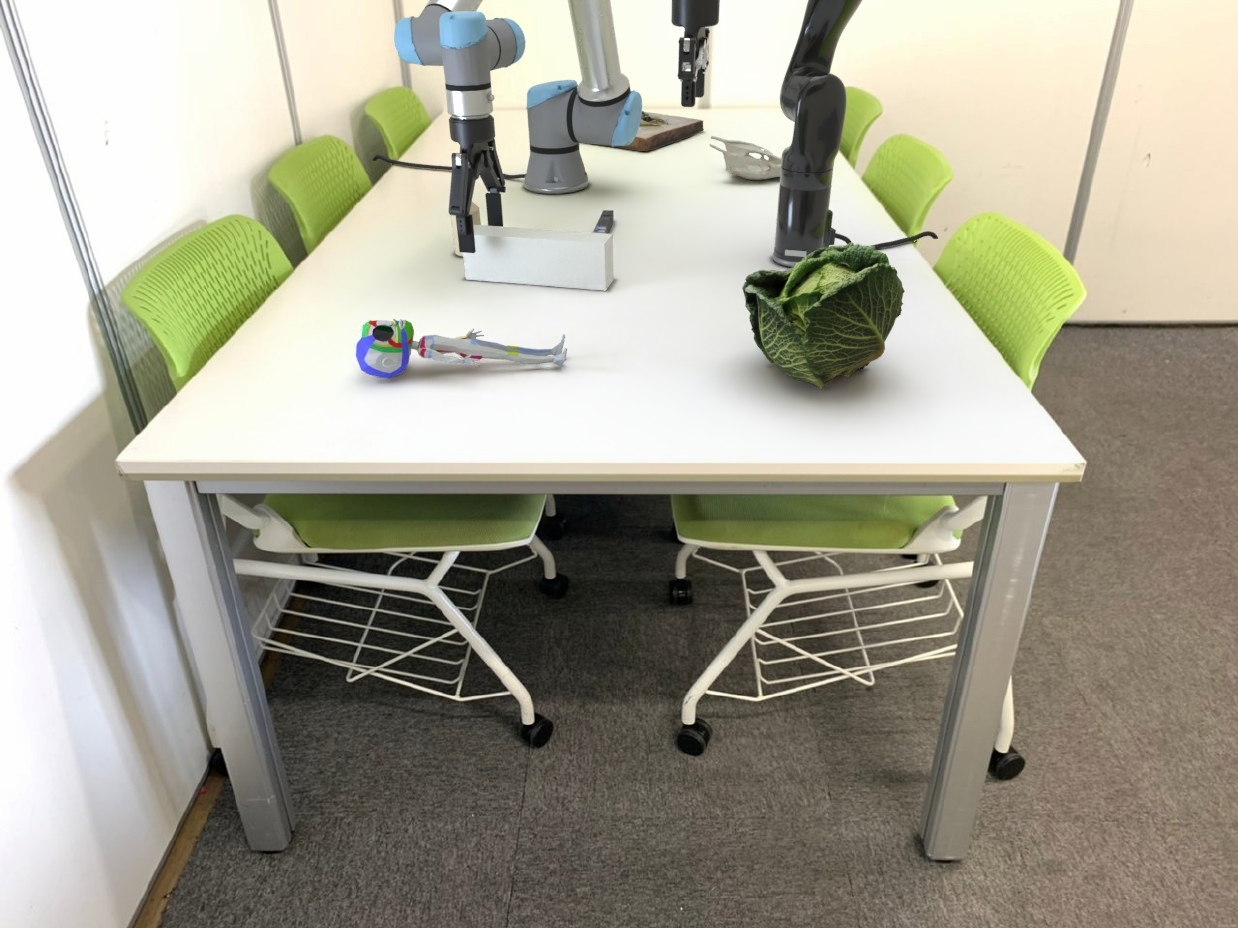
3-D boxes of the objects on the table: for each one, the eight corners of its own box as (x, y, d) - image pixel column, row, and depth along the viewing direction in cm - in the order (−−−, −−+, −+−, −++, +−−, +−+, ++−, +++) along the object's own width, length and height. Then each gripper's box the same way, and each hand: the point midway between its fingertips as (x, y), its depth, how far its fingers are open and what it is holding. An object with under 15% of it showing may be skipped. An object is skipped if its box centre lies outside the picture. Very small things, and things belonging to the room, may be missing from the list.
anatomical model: (711, 132, 222) (813, 131, 218) (711, 170, 227) (811, 169, 223) (707, 147, 210) (815, 146, 206) (707, 186, 215) (813, 186, 211)
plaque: (647, 125, 237) (559, 112, 252) (647, 153, 241) (560, 139, 256) (706, 107, 258) (622, 97, 273) (705, 133, 262) (622, 121, 277)
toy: (569, 347, 126) (349, 329, 122) (563, 400, 131) (350, 385, 126) (565, 318, 135) (359, 301, 130) (559, 369, 139) (360, 354, 134)
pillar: (613, 210, 190) (600, 241, 173) (613, 220, 191) (600, 251, 174) (603, 210, 190) (589, 240, 173) (603, 220, 191) (589, 251, 174)
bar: (465, 279, 163) (460, 233, 158) (476, 269, 167) (472, 224, 163) (605, 291, 157) (604, 243, 153) (613, 280, 162) (612, 233, 157)
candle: (488, 249, 176) (483, 198, 171) (475, 258, 172) (470, 206, 167) (463, 246, 178) (457, 196, 173) (450, 255, 174) (443, 204, 168)
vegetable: (774, 398, 137) (714, 287, 129) (876, 327, 138) (822, 213, 130) (838, 431, 119) (772, 304, 111) (955, 349, 120) (897, 218, 112)
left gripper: (462, 131, 138) (475, 264, 150) (517, 103, 159) (525, 221, 170) (418, 129, 140) (433, 261, 151) (478, 101, 161) (488, 219, 172)
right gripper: (712, -4, 133) (708, 111, 142) (726, -13, 145) (721, 94, 153) (662, -5, 135) (661, 109, 143) (680, -13, 146) (678, 93, 155)
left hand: (482, 240), depth 161 cm, fingers open, 13 cm apart
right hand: (692, 101), depth 148 cm, fingers open, 8 cm apart
